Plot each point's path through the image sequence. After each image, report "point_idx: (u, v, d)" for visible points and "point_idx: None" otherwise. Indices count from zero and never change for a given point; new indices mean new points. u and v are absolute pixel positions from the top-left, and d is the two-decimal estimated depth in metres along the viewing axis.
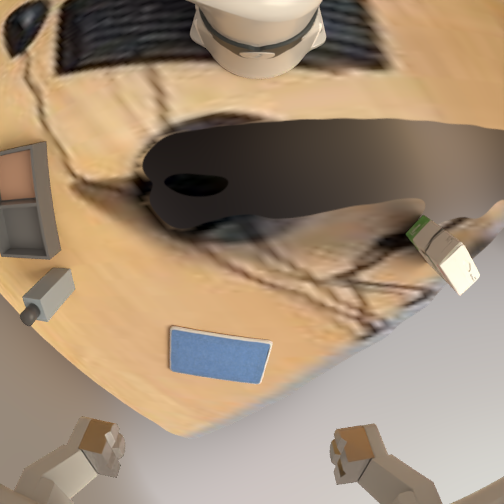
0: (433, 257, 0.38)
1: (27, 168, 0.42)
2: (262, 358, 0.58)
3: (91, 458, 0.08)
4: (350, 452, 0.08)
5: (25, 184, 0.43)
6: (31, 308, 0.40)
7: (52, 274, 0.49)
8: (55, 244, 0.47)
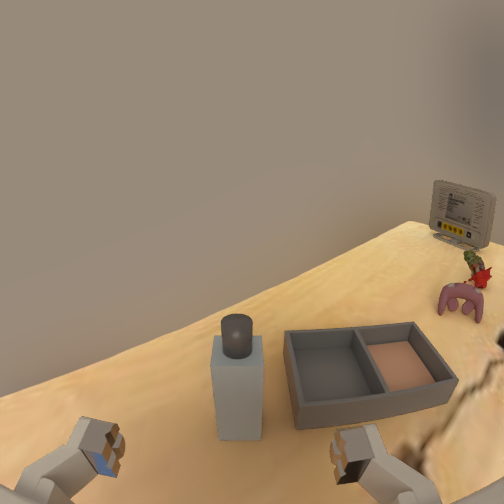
0: None
1: (412, 380, 0.33)
2: None
3: (91, 458, 0.08)
4: (350, 452, 0.08)
5: (391, 379, 0.34)
6: (250, 342, 0.25)
7: None
8: (312, 421, 0.29)
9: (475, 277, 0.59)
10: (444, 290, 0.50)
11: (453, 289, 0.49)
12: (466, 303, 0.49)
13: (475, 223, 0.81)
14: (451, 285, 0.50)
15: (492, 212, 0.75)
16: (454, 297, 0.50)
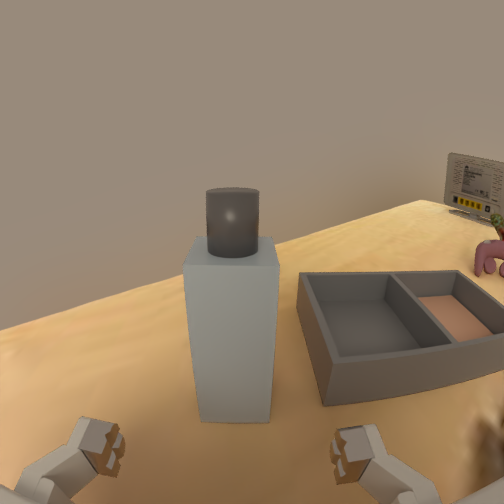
0: None
1: (470, 337, 0.23)
2: None
3: (91, 458, 0.08)
4: (350, 452, 0.08)
5: None
6: (255, 229, 0.15)
7: None
8: (350, 392, 0.19)
9: None
10: (480, 247, 0.40)
11: (490, 246, 0.39)
12: None
13: (493, 196, 0.71)
14: (487, 241, 0.39)
15: None
16: (491, 257, 0.39)
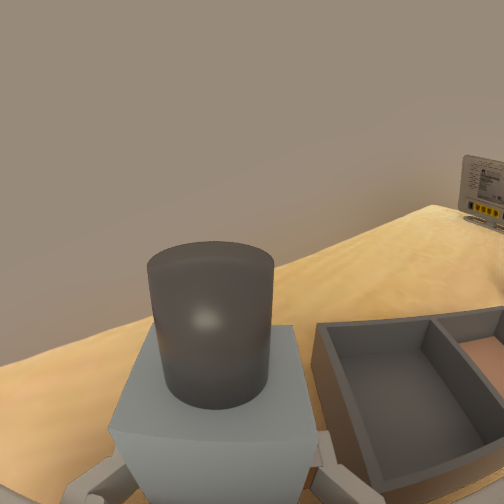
0: None
1: None
2: None
3: None
4: None
5: None
6: (263, 348, 0.06)
7: None
8: None
9: None
10: None
11: None
12: None
13: None
14: None
15: None
16: None
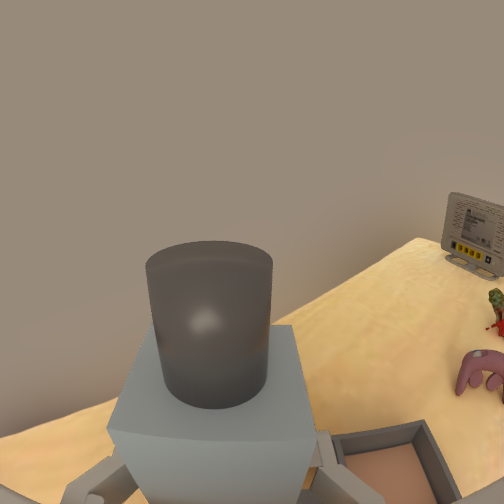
0: None
1: None
2: None
3: None
4: None
5: None
6: (262, 348, 0.06)
7: None
8: None
9: (501, 324, 0.42)
10: (467, 362, 0.32)
11: (480, 361, 0.31)
12: (493, 377, 0.31)
13: (496, 246, 0.64)
14: (477, 355, 0.32)
15: None
16: (479, 370, 0.32)
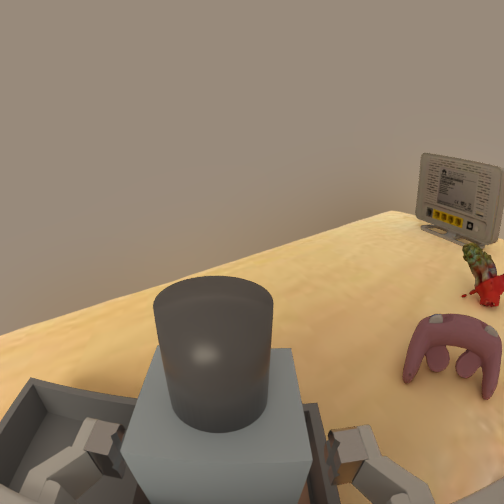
0: None
1: None
2: None
3: (97, 459, 0.08)
4: (343, 453, 0.08)
5: None
6: (263, 379, 0.07)
7: None
8: None
9: (481, 288, 0.34)
10: (420, 330, 0.24)
11: (440, 329, 0.23)
12: (466, 356, 0.22)
13: (478, 209, 0.57)
14: (436, 320, 0.23)
15: (502, 193, 0.51)
16: (442, 345, 0.23)
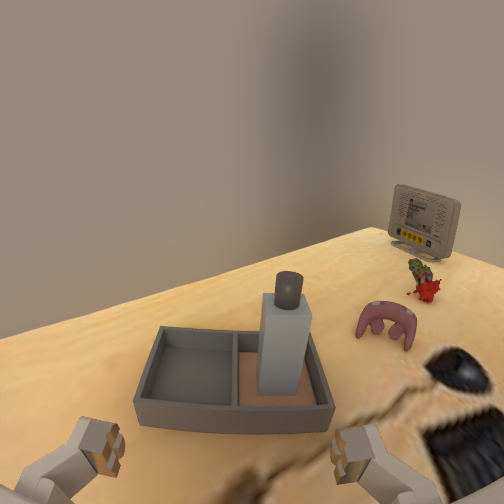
0: None
1: (286, 398, 0.32)
2: None
3: (91, 458, 0.08)
4: (350, 452, 0.08)
5: None
6: (300, 295, 0.30)
7: None
8: (153, 420, 0.27)
9: (420, 289, 0.59)
10: (365, 309, 0.47)
11: (377, 308, 0.46)
12: (394, 326, 0.46)
13: (435, 231, 0.82)
14: (375, 303, 0.47)
15: (455, 220, 0.76)
16: (379, 318, 0.47)
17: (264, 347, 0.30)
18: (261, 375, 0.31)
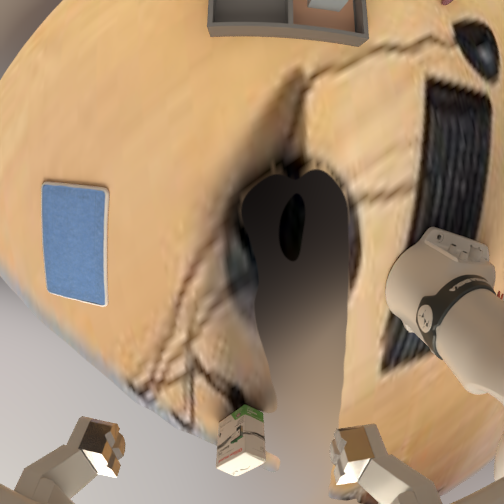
0: (246, 443, 0.45)
1: (330, 13, 0.31)
2: (83, 296, 0.45)
3: (91, 458, 0.08)
4: (350, 452, 0.08)
5: None
6: None
7: None
8: (222, 33, 0.32)
9: None
10: None
11: None
12: None
13: None
14: None
15: None
16: None
17: None
18: None
